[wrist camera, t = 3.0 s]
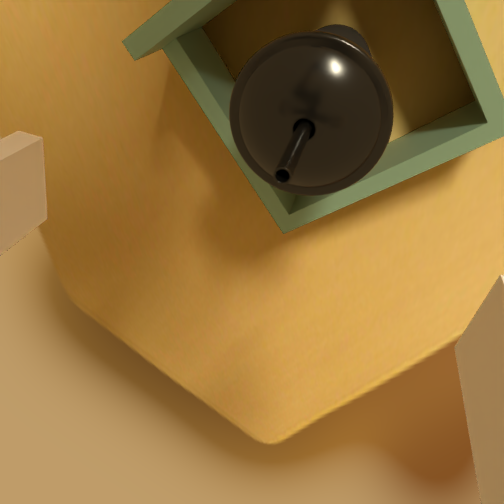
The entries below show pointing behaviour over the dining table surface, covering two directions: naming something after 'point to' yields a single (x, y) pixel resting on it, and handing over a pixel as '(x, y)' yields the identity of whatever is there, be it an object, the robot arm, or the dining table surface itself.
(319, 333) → the dining table surface
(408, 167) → the frame
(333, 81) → the drinking cup
